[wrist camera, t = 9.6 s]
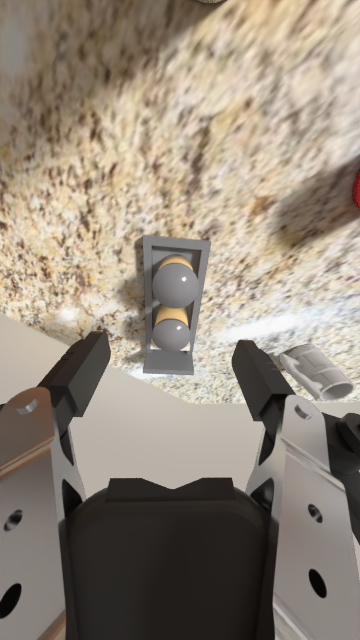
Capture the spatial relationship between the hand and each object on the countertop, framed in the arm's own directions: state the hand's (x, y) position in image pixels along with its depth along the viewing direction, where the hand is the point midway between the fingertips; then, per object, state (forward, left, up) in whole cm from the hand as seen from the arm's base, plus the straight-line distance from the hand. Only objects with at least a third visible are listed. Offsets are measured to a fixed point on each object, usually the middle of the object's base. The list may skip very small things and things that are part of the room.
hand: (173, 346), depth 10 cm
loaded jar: (+8, 0, -19) cm, 21 cm away
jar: (0, 0, -19) cm, 19 cm away
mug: (+18, +30, -20) cm, 40 cm away
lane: (+8, 0, -20) cm, 21 cm away
